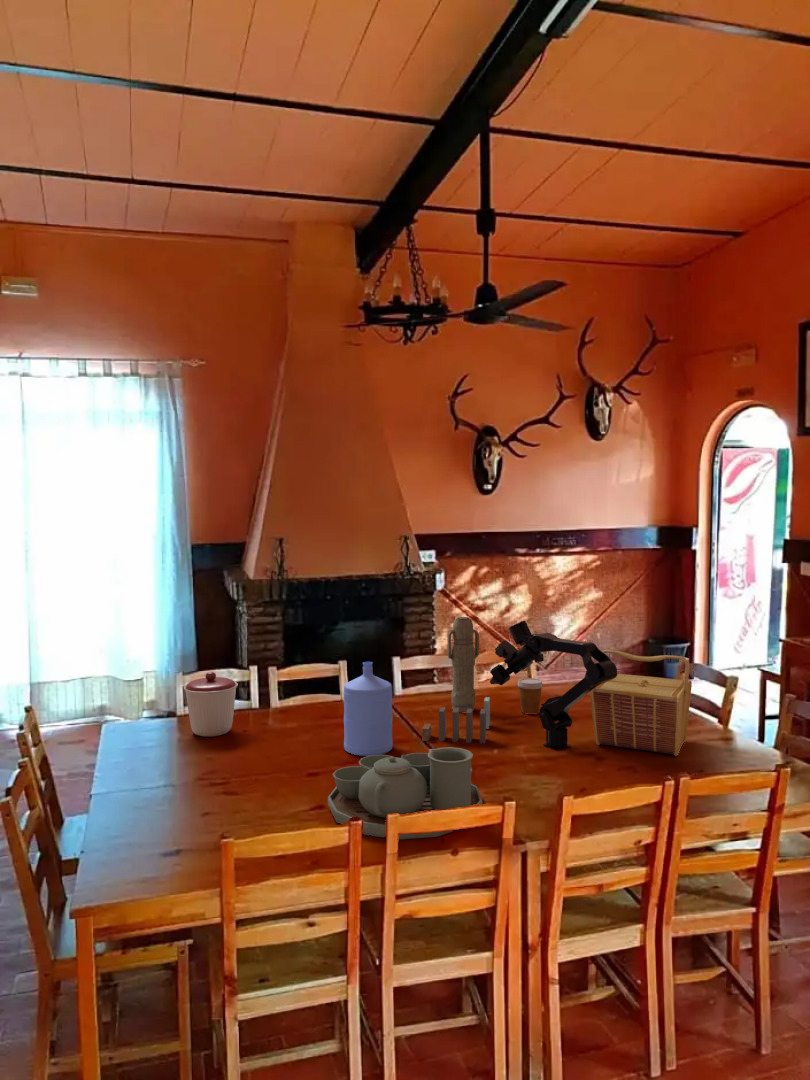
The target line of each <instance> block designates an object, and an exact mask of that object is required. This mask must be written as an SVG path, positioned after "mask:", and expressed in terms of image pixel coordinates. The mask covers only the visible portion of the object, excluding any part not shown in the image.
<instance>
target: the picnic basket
mask: <svg viewBox="0 0 810 1080" xmlns="http://www.w3.org/2000/svg"><path fill="white" fill-rule="evenodd" d="M601 651H602V652H603V653H605V654H614V655H619V656H621V657H623V658H625V659H629V660H633V661H636V662H637V661H639V662H660V661H662V660H666V659H672V660H681V661H682V662H683V663H684V665H685V667H684V674H683V675H684V677H683V679H676V678H667V677H659V676H658V677H657V676H645V675H635V674H625V673H618V672H617V676H616V678H614V679H612V680H610V681H608V682H606V683H603V684H601V685H598V686H596V687H595V688H594V689H593V690H591V691H590V692H589V693H590V694H589V696H590V703H591V714H592V722H593V723H592V726H593V732H594V741H595V743H596V745H598V746H599V745H600V744H601V745H605V746H612V747H617V748H618V747H619V748H625V749H633V750H640V751H646V752H654V753H661V754H668V755H674V757H677V755H678V756H679V754H680V752H681V751H680V748H681V745H682V743H683V742H685V743H686V739H687V735H688V734H687V733H688V723H689V715H690V705H691V696H692V687H693V685H692V684H693V683H692V680H691V679H690V678H689V677H690V668H691V667H690V666H691V665H690V662H689V660H688V659H686V657H684V656H680V655H669V654H667V655H666V654H665V655H664V654H663V655H654V656H644V655H643V656H642V655H636V654H635V655H634V654H631V653H628V652H624V651H620V650H612V649H603V650H601ZM596 663H599V662H598V661H597V660H596ZM679 751H680V752H679ZM678 753H679V754H678Z"/></svg>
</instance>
